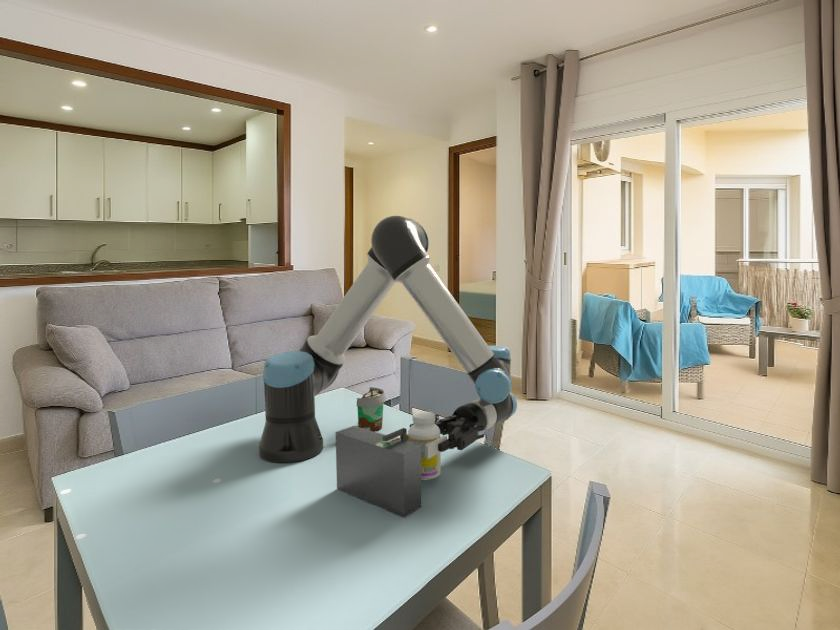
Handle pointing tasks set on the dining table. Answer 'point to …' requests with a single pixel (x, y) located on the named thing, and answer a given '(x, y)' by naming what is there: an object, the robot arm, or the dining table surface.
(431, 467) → the supplement bottle
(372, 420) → the food container
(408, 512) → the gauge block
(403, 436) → the pale blue square panel
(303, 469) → the dining table surface
